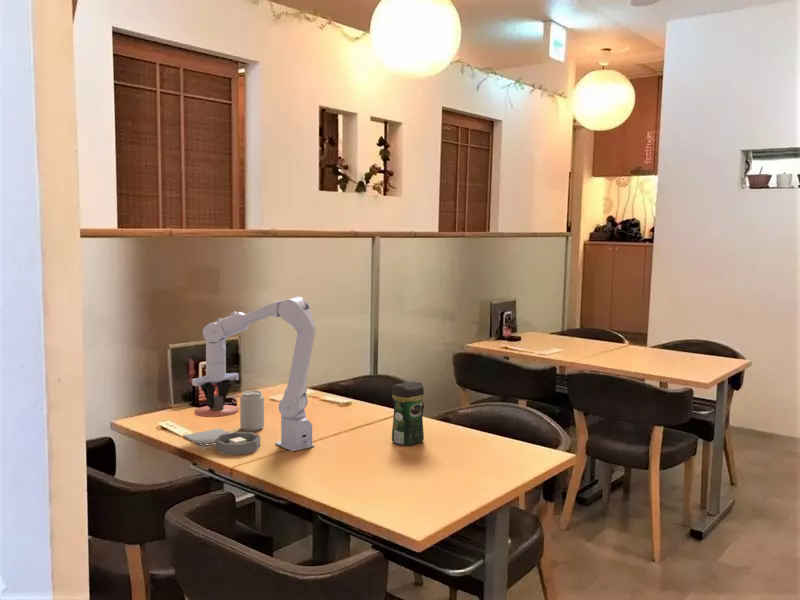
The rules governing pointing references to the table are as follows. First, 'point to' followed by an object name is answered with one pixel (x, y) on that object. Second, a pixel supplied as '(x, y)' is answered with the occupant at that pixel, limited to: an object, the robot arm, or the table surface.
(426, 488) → the table surface
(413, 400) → the coffee jar
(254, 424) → the can
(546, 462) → the table surface
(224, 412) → the lid
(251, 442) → the bowl
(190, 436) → the mat
